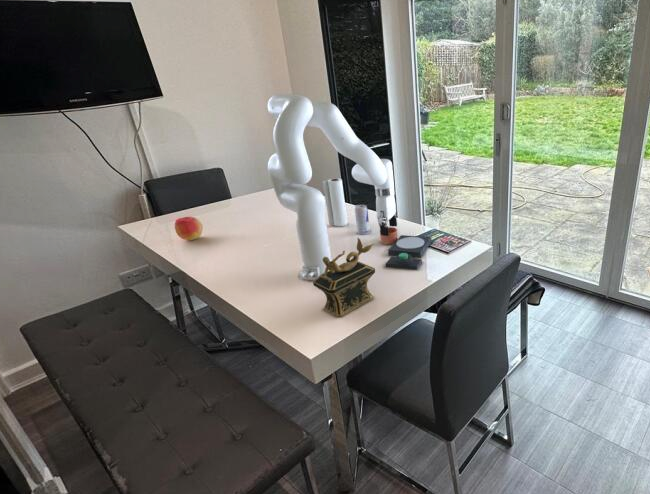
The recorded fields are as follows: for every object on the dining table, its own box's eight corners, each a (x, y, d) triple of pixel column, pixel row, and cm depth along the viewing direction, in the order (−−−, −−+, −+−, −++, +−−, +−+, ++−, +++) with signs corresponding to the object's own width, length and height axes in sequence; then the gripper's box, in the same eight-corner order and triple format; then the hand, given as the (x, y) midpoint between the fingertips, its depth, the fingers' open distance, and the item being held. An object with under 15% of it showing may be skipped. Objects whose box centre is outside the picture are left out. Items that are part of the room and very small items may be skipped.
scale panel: (417, 270, 146) (416, 262, 145) (385, 267, 149) (384, 259, 147) (422, 262, 152) (421, 255, 151) (391, 259, 154) (390, 252, 153)
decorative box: (336, 321, 118) (326, 260, 110) (316, 310, 123) (305, 251, 115) (387, 292, 132) (382, 237, 124) (368, 284, 138) (361, 230, 130)
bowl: (394, 245, 166) (393, 234, 164) (378, 244, 167) (376, 233, 165) (400, 239, 172) (399, 227, 170) (384, 237, 174) (383, 226, 172)
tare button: (406, 260, 148) (405, 256, 147) (397, 260, 148) (397, 256, 147) (409, 256, 150) (408, 253, 150) (400, 256, 151) (400, 252, 150)
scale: (420, 258, 155) (420, 251, 154) (388, 255, 158) (388, 249, 157) (431, 242, 169) (431, 236, 168) (401, 240, 171) (401, 234, 170)
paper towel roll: (350, 222, 191) (344, 178, 182) (343, 227, 185) (337, 181, 177) (336, 221, 192) (330, 177, 184) (329, 226, 187) (322, 180, 178)
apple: (190, 244, 169) (183, 222, 165) (173, 242, 172) (166, 220, 168) (210, 236, 177) (204, 214, 173) (194, 233, 180) (187, 212, 176)
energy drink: (371, 230, 182) (368, 204, 177) (367, 234, 177) (364, 208, 172) (359, 229, 182) (356, 204, 178) (355, 234, 178) (352, 208, 173)
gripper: (384, 184, 169) (388, 222, 177) (367, 197, 154) (372, 238, 161) (401, 184, 168) (404, 223, 175) (385, 198, 153) (390, 239, 160)
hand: (389, 230), depth 168 cm, fingers open, 9 cm apart
